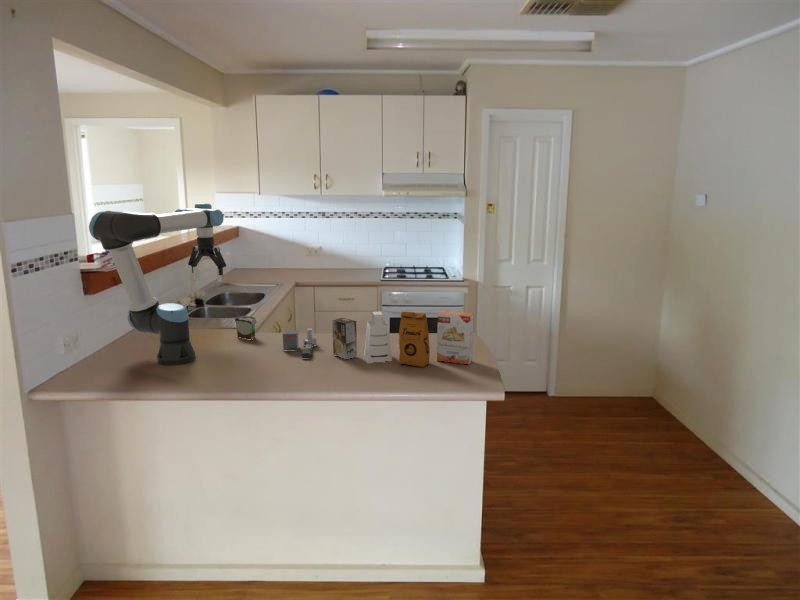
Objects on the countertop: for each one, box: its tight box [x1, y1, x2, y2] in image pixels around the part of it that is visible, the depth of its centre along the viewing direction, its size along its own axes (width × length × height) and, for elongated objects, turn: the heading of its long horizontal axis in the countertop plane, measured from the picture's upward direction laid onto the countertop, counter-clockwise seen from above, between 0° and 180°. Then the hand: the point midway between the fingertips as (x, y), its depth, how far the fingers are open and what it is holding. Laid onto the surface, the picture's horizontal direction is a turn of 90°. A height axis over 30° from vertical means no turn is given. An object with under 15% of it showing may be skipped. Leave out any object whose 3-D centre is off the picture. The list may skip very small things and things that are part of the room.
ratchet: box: [301, 327, 318, 359], centre depth 247 cm, size 22×6×8 cm, turn 4°
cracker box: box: [436, 310, 474, 366], centre depth 231 cm, size 14×6×21 cm, turn 68°
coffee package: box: [398, 311, 431, 368], centre depth 228 cm, size 10×12×22 cm
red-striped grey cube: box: [282, 329, 300, 351], centre depth 250 cm, size 6×6×8 cm
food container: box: [234, 315, 258, 341], centre depth 268 cm, size 12×6×10 cm, turn 58°
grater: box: [363, 310, 393, 364], centre depth 235 cm, size 10×10×20 cm
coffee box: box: [331, 317, 358, 360], centre depth 238 cm, size 9×6×16 cm
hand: (208, 281), depth 267 cm, fingers open, 13 cm apart
